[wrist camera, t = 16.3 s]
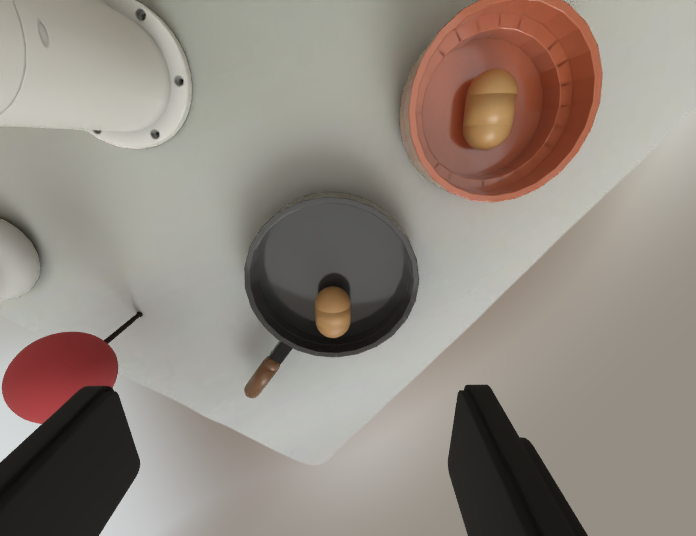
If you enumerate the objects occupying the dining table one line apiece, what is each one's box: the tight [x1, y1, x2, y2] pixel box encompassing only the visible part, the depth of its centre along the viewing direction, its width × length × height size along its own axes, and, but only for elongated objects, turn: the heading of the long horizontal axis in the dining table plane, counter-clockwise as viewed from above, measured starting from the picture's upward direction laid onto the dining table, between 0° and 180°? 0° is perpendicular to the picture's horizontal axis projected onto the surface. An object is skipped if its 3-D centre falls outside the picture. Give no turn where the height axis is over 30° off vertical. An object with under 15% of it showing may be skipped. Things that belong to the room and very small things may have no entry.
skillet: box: [244, 192, 419, 357], centre depth 36 cm, size 18×18×4 cm
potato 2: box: [463, 68, 518, 150], centre depth 29 cm, size 7×4×4 cm, turn 0°
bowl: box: [399, 0, 602, 202], centre depth 29 cm, size 15×15×6 cm
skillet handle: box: [244, 341, 292, 398], centre depth 39 cm, size 10×2×2 cm, turn 145°
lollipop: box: [2, 312, 142, 424], centre depth 33 cm, size 8×8×15 cm
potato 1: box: [315, 286, 351, 338], centre depth 37 cm, size 6×4×4 cm, turn 0°
